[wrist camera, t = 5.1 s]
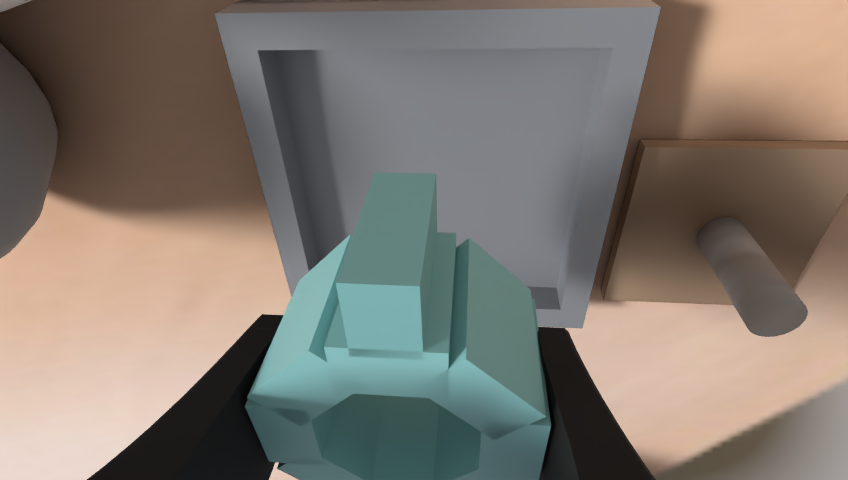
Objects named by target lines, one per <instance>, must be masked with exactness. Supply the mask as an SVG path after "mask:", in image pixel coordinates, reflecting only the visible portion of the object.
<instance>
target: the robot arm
mask: <svg viewBox="0 0 848 480" xmlns="http://www.w3.org/2000/svg"><path fill="white" fill-rule="evenodd" d="M283 316H284V315H263V314H262V315H261V316H260V317H259V318H258V319H257V320H256V321H255V322H254V323H253V324H252V325H251V326H250V327H249V328H248V329H247V331H246V332H245V333H244V334H243V335H242V336H241V337H240V338H239V339H238V340H237V341H236V342H235V343H234V344H233V346H232V347H231V348H230V349H229V350H228V351H227V352H226V353H225V354H224V355H223V356H222V357H221V358H220V359H219V360H218V361H217V362H216V363H215V364H214V366H213V367H212V368H211V369H210V370H209V371H208V372H207V373H206V374H205V375H204V376H203V377H202V378H201V379H200V380H199V381H198V382H197V383H196V384H195V385H194V386H193V387H192V388H191V389H190V390H189V391H188V392H187V393H186V394H185V395H184V396H183V397H182V398H181V399H180V400H178V401H177V402H176V403H175V404H174V405H173V406H172V407H171V408H170V409H169V410H168V411H167V412H166V413H165V414H164V415H163V416H161V417H160V418H159V419H158V420H157V421H156V422H155V423H154V424H153V425H152V426H151V427H150V428H149V429H147V430H146V431H145V432H144V433H143V434H142V435H141V436H139V437H138V438H137V439H136V440H135V441H134V442H133V443H131V444H130V445H129V446H128V447H127V448H126V449H124V450H123V451H122V452H121V453H120V454H118V455H117V456H116V457H115V458H114V459H112V460H111V461H110V462H109V463H108V464H106V465H105V466H104V467H103V468H101V469H100V470H99V471H98V472H96V473H95V474H94V475H92V476H91V477H90V478H88V479H87V480H269V477H270V475H271V472H272V469H273V467H274V464H275V462H269V460H268V458H267V456H266V453H265V451H264V449H263V447H262V444H261V442H260V440H259V437H258V435H257V433H256V431H255V428H254V426H253V424H252V421H251V419H250V417H249V415H248V412H247V410H246V408H245V404H246V402H247V400H248V398H247V396H248V394H249V392H250V389H251V387H252V385H253V383H254V381H255V378H256V376H257V374H258V372H259V369H260V367H261V365H262V363H263V360H264V358H265V356H266V354H267V351H268V349H269V347H270V345H271V343H272V340H273V338H274V336H275V334H276V331H277V329H278V327H279V325H280V322H281V320H282V318H283ZM538 330H539V331H537V333H538V341H539V348H540V356H541V363H542V367H543V372H544V376H545V383H546V391H547V399H548V406H549V414H550V422H551V429H550V433H549V437H548V442H547V446H546V450H545V455H544V459H543V464H542V468H541V472H540V477H539V480H655V478H654V477H653V475H652V474H651V473H650V471H649V470H648V468H647V467H646V465H645V464H644V463H643V461H642V460H641V458H640V457H639V455H638V454H637V452H636V451H635V449H634V448H633V446H632V445H631V443H630V442H629V440H628V439H627V437H626V436H625V434H624V432H623V431H622V429H621V428H620V426H619V425H618V423H617V421H616V420H615V418H614V416H613V415H612V413H611V411H610V410H609V408H608V406H607V405H606V403H605V401H604V400H603V398H602V396H601V395H600V393H599V391H598V389H597V388H596V386H595V384H594V382H593V380H592V379H591V377H590V375H589V373H588V371H587V369H586V368H585V366H584V364H583V362H582V360H581V358H580V356H579V354H578V352H577V350H576V348H575V345H574V343H573V341H572V339H571V337H570V334H569V332H568V331H567V330H566V329H565V328H550V327H538Z"/></svg>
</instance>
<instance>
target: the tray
mask: <svg viewBox="0 0 848 480" xmlns="http://www.w3.org/2000/svg"><path fill="white" fill-rule="evenodd" d="M660 9H661V7H660V6H659V5H657V4H656V3H655V2H653V1H652V0H240V1H238V2H236V3H234V4H232V5H230V6H228V7H226V8H224V9H222V10H220V11H218V12H216V13H214V14H215V18H216V21H217V25H218V29H219V32H220V36H221V40H222V43H223V47H224V51H225V54H226V58H227V62H228V65H229V69H230V73H231V76H232V80H233V84H234V87H235V91H236V95H237V98H238V102H239V106H240V109H241V113H242V117H243V120H244V124H245V128H246V131H247V135H248V139H249V142H250V146H251V150H252V153H253V157H254V161H255V164H256V168H257V172H258V175H259V179H260V183H261V187H262V190H263V194H264V198H265V201H266V205H267V209H268V212H269V216H270V220H271V223H272V227H273V231H274V234H275V238H276V242H277V245H278V249H279V253H280V256H281V260H282V264H283V267H284V271H285V275H286V278H287V282H288V286H289V289H290V293H291V297H292V296H293V293H294V291H295V289H296V287H297V284H298V282H299V280H300V279H301V278H303V277H304V276H305V275H306V274H307V273H308V272H309V271H310V270H311V269H313V268H314V267H315V266H316V265H317V264H318V263H319V262H320V261H321V260H322V259H324V258H325V257H326V256H327V255H328V254H329V253H330V252H331V251H332V250H333V249H335V248H336V247H337V246H338V245H339V244H340V243H341V242H342V241H343V240H345V239H346V238H347V237H348V236H349V235H350V234H351V235H353V233H354V230H355V227H356V224H357V221H358V219H359V216H360V213H361V210H362V207H363V205H364V202H365V199H366V196H367V193H368V190H369V188H370V185H371V182H372V179H373V176H374V174H375V173H431V174H436V188H437V232H445V233H456V247H457V246H459V245H460V244H461V243H463V242H464V241H465V240H467V239H468V238H470V239H472V240H473V241H474V242H475V243H476V244H478V245H479V246H480V247H481V248H482V249H483V250H485V251H486V252H487V253H488V254H489V255H490V256H492V257H493V258H494V259H495V260H496V261H498V262H499V263H500V264H501V265H502V266H503V267H505V268H506V269H507V270H508V271H509V272H510V273H512V274H513V275H514V276H515V277H516V278H518V279H519V280H520V281H521V282H522V283H523V284H525V285H526V286H527V287H528V288H529V289H530V290H531V297H532V299H535V307H536V315H537V322H538V326H541V327H563V328H583V324H584V319H585V315H586V311H587V307H588V303H589V299H590V295H591V291H592V287H593V283H594V279H595V275H596V270H597V266H598V262H599V258H600V254H601V250H602V246H603V242H604V238H605V234H606V230H607V226H608V222H609V217H610V213H611V209H612V205H613V201H614V197H615V193H616V189H617V185H618V181H619V177H620V173H621V169H622V164H623V160H624V156H625V152H626V148H627V144H628V140H629V136H630V132H631V128H632V124H633V120H634V116H635V111H636V107H637V103H638V99H639V95H640V91H641V87H642V83H643V79H644V75H645V71H646V67H647V62H648V58H649V54H650V50H651V46H652V42H653V38H654V34H655V30H656V26H657V22H658V18H659V14H660Z"/></svg>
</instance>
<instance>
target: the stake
mask: <svg viewBox="0 0 848 480" xmlns="http://www.w3.org/2000/svg"><path fill="white" fill-rule="evenodd" d="M847 194H848V141H756V140H657V139H640V142H639V146H638V150H637V154H636V157H635V161H634V165H633V169H632V173H631V177H630V180H629V184H628V188H627V192H626V196H625V200H624V203H623V207H622V211H621V215H620V219H619V223H618V226H617V230H616V234H615V238H614V242H613V246H612V249H611V253H610V257H609V261H608V265H607V269H606V272H605V276H604V280H603V284H602V288H601V292H602V296H603V299H604V300H619V301H645V302H670V303H695V304H720V305H734V306H735V308H736V310H737V311H738V313H739V315H740V316H741V318H742V320H743V321H744V323H745V325H746V326H747V328H748V329H749V331H750V332H752V333H753V334H756V335H759V336H765V337H771V336H778V335H782V334H785V333H788V332H790V331H792V330H794V329H796V328H797V327H799V326H800V325H801V324H802V323H803V322H804V321H805V319H806V317H807V313H808V311H807V308H806V306H805V305H804V303H803V302H802V301H801V300H800V298H799V297H798V296H797V294H796V293H795V292H794V290H793V289H792V288H793V286H794V284H795V282H796V281H797V279H798V277H799V276H800V274H801V272H802V271H803V269H804V267H805V265H806V264H807V262H808V260H809V259H810V257H811V255H812V254H813V252H814V250H815V248H816V247H817V245H818V243H819V242H820V240H821V238H822V236H823V235H824V233H825V231H826V230H827V228H828V226H829V225H830V223H831V221H832V219H833V218H834V216H835V214H836V213H837V211H838V209H839V208H840V206H841V204H842V202H843V201H844V199H845V197H846V196H847Z"/></svg>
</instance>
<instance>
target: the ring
mask: <svg viewBox="0 0 848 480" xmlns="http://www.w3.org/2000/svg"><path fill="white" fill-rule="evenodd" d="M537 331H539V330H538V322H537V315H536V307H535V299H532V297H531V290H530V289H529V288H528V287H527V286H526V285H525V284H523V283H522V282H521V281H520V280H519V279H518V278H516V277H515V276H514V275H513V274H512V273H510V272H509V271H508V270H507V269H506V268H505V267H503V266H502V265H501V264H500V263H499V262H498V261H496V260H495V259H494V258H493V257H492V256H490V255H489V254H488V253H487V252H486V251H485V250H483V249H482V248H481V247H480V246H479V245H478V244H476V243H475V242H474V241H473V240H472V239H470V238H468V239H467V240H465V241H464V242H463V243H461V244H460V245H459V246H457V247H456V233H445V232H437V188H436V174H431V173H375V174H374V176H373V179H372V182H371V185H370V188H369V190H368V193H367V196H366V199H365V202H364V205H363V207H362V210H361V213H360V216H359V219H358V221H357V224H356V227H355V230H354V233H353V235H351V234H350V235H349V236H348V237H347V238H346V239H345V240H343V241H342V242H341V243H340V244H339V245H338V246H337V247H336V248H335V249H333V250H332V251H331V252H330V253H329V254H328V255H327V256H326V257H325V258H324V259H322V260H321V261H320V262H319V263H318V264H317V265H316V266H315V267H314V268H313V269H311V270H310V271H309V272H308V273H307V274H306V275H305V276H304V277H303V278H301V279H300V280H299V282H298V284H297V287H296V289H295V291H294V293H293V296H292V298H291V300H290V302H289V305H288V307H287V309H286V311H285V313H284V316H283V318H282V320H281V322H280V325H279V327H278V329H277V331H276V334H275V336H274V338H273V340H272V343H271V345H270V347H269V349H268V351H267V354H266V356H265V358H264V360H263V363H262V365H261V367H260V369H259V372H258V374H257V376H256V378H255V381H254V383H253V385H252V387H251V389H250V392H249V394H248V396H247V398H248V400H247V402H246V404H245V408H246V410H247V412H248V415H249V417H250V419H251V421H252V424H253V426H254V428H255V431H256V433H257V435H258V437H259V440H260V442H261V444H262V447H263V449H264V451H265V453H266V456H267V458H268V460H269V462H279V464H278V467H277V469H279V470H281V471H283V472H285V473H287V474H289V475H291V476H293V477H295V478H297V479H299V480H539V477H540V472H541V468H542V464H543V459H544V455H545V450H546V446H547V442H548V437H549V433H550V429H551V422H550V414H549V406H548V399H547V391H546V383H545V376H544V372H543V367H542V363H541V356H540V348H539V341H538V333H537Z"/></svg>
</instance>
